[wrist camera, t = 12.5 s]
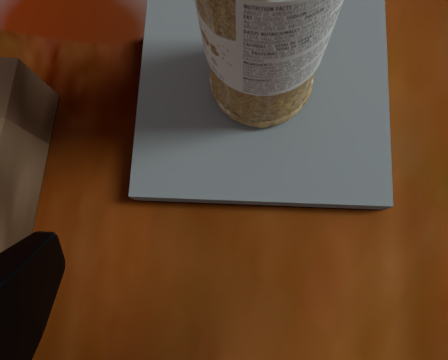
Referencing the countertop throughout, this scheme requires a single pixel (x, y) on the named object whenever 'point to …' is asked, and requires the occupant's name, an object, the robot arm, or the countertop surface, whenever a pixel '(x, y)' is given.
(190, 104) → the slate mat
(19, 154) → the bottle holder
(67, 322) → the countertop surface
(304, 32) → the sprinkles bottle
